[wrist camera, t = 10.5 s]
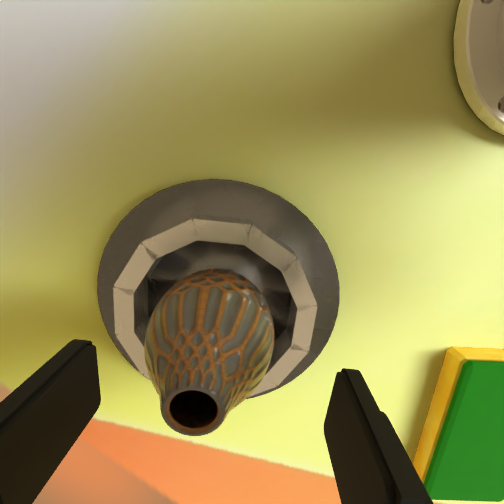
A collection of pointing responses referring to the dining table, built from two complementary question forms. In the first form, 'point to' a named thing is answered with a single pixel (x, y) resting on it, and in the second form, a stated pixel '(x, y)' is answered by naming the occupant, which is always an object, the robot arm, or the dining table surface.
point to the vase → (207, 348)
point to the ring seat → (222, 267)
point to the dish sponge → (465, 428)
